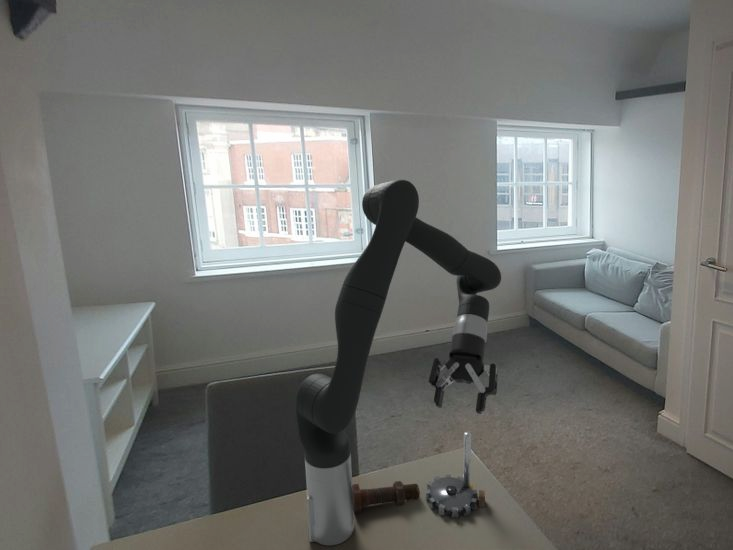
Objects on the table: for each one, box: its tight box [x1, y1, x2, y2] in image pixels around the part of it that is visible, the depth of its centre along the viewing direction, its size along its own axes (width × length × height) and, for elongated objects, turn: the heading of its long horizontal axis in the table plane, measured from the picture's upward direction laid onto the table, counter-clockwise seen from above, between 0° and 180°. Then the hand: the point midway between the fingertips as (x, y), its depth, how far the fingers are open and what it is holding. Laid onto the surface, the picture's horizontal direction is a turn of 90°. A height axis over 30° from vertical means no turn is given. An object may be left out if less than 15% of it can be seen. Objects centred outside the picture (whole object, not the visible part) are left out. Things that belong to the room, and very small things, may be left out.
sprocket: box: [425, 431, 478, 519], centre depth 93 cm, size 11×11×15 cm
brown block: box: [478, 489, 486, 508], centre depth 92 cm, size 1×2×2 cm, turn 167°
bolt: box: [352, 480, 421, 514], centre depth 93 cm, size 6×5×15 cm
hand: (458, 409), depth 87 cm, fingers open, 8 cm apart
